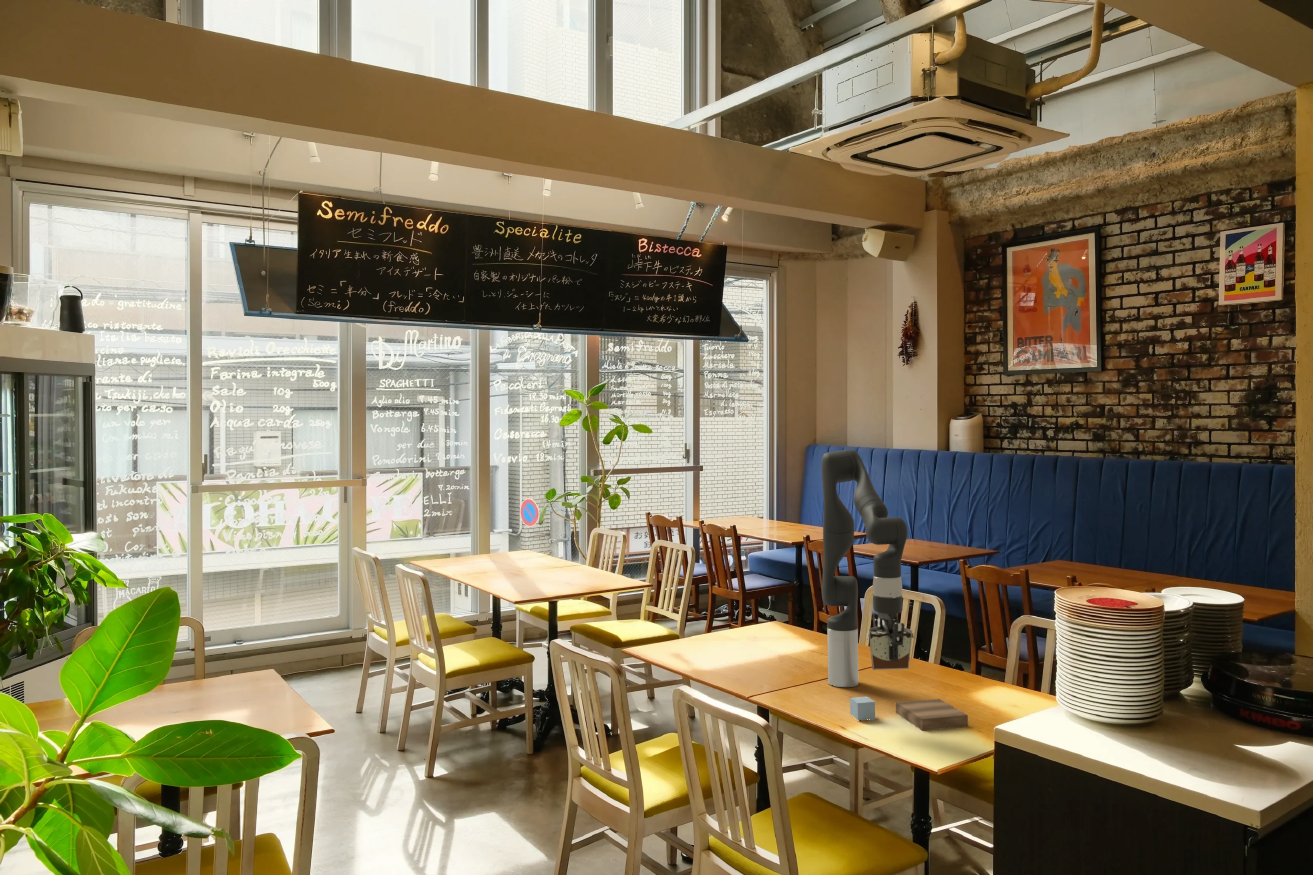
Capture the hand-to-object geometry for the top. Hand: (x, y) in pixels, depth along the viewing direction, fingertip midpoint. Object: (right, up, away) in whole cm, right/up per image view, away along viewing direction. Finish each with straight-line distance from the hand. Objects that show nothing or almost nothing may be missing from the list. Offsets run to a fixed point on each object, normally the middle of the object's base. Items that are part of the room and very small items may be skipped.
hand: (888, 657), depth 234 cm
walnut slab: (+13, -18, +5) cm, 23 cm away
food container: (0, -3, +1) cm, 3 cm away
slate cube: (-5, -19, +8) cm, 21 cm away
